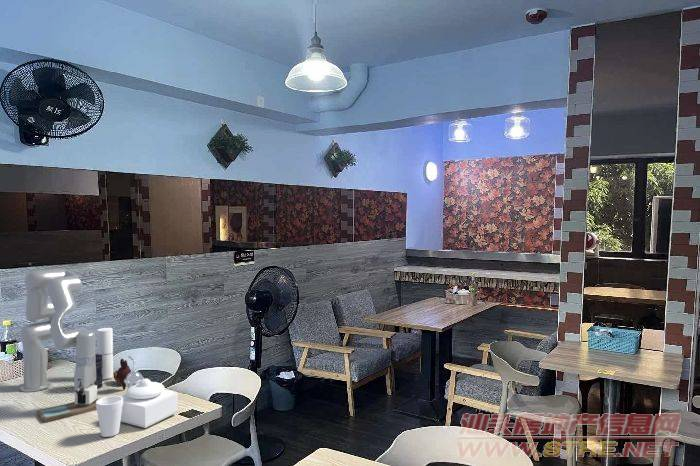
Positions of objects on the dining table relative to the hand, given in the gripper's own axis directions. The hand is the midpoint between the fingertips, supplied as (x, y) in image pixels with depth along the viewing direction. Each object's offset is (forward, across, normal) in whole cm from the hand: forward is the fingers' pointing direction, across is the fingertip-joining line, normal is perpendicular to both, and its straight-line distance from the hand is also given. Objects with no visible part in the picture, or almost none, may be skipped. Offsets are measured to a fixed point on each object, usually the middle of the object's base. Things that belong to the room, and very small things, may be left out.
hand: (86, 399), depth 213 cm
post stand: (+3, +4, -4) cm, 7 cm away
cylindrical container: (+4, -39, -12) cm, 41 cm away
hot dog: (+4, -31, 0) cm, 32 cm away
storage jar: (+4, -24, -11) cm, 27 cm away
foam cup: (+3, +24, +23) cm, 34 cm away
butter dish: (+3, +8, +30) cm, 31 cm away
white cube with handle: (+1, 0, 0) cm, 1 cm away
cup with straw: (+3, -7, +18) cm, 20 cm away
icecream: (+3, -21, +7) cm, 22 cm away
